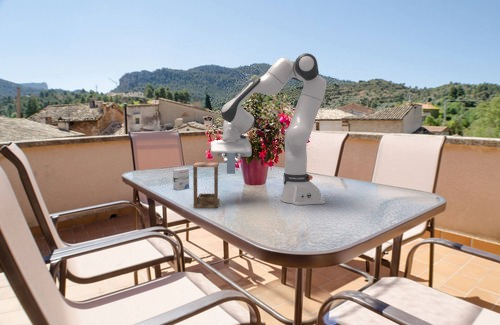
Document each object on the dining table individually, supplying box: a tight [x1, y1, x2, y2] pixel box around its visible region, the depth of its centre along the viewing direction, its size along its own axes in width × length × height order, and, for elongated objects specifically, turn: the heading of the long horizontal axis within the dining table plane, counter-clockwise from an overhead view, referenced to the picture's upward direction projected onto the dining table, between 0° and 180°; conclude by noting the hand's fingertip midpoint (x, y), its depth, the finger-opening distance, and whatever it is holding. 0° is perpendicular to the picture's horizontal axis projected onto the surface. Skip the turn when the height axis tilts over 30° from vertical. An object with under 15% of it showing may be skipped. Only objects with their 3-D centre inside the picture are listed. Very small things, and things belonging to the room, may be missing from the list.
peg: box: [226, 152, 236, 175], centre depth 143 cm, size 4×4×10 cm
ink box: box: [172, 167, 190, 191], centre depth 177 cm, size 8×5×12 cm, turn 144°
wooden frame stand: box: [192, 161, 221, 209], centre depth 143 cm, size 11×14×20 cm
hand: (231, 162), depth 143 cm, fingers closed on peg, 4 cm apart
